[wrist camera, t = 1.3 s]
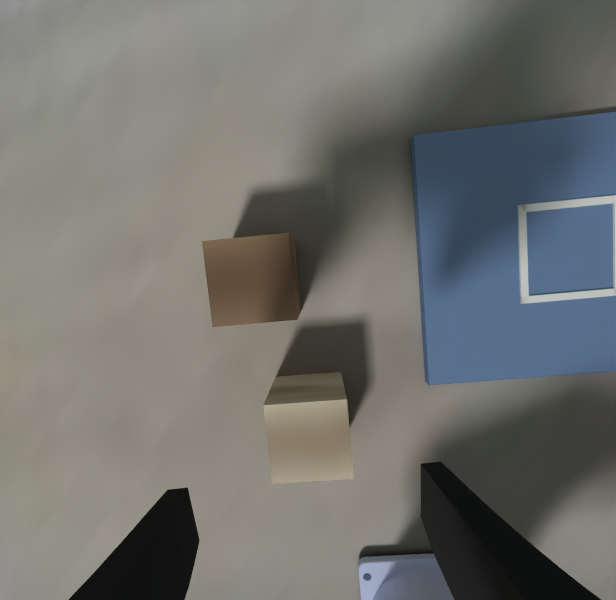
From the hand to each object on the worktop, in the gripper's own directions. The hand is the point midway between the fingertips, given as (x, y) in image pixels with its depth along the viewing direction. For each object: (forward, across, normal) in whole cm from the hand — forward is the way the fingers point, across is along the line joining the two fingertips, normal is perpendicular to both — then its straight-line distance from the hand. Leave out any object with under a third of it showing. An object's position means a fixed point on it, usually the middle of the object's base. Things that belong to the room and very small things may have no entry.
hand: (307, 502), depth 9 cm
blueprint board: (+9, -15, -6) cm, 19 cm away
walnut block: (+10, +2, -6) cm, 12 cm away
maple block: (+9, 0, +2) cm, 9 cm away
